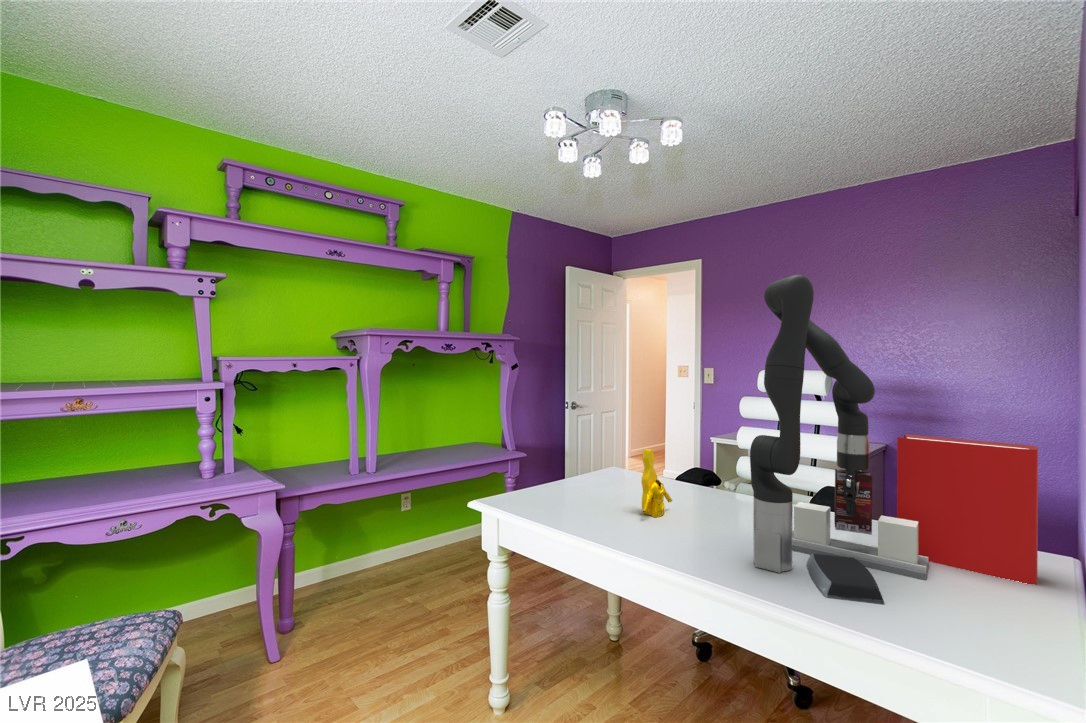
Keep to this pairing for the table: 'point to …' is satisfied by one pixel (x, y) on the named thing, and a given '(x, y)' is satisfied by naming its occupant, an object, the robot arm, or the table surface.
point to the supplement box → (863, 504)
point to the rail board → (890, 555)
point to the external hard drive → (843, 578)
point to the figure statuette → (652, 488)
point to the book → (972, 503)
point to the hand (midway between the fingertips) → (852, 512)
